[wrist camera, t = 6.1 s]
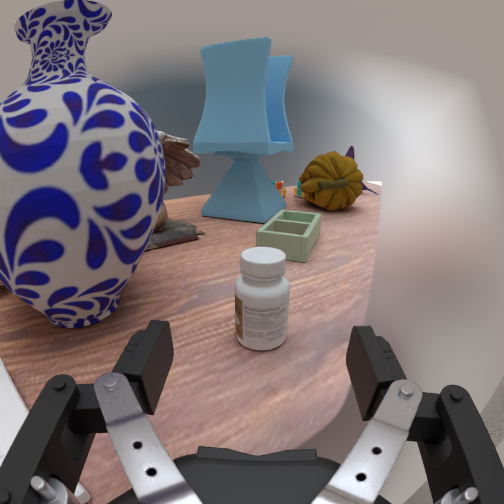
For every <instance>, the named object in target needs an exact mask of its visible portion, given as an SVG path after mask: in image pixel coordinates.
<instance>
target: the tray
mask: <svg viewBox="0 0 504 504" xmlns="http://www.w3.org/2000/svg"><path fill="white" fill-rule="evenodd" d="M320 226H321V214H319V213H309V212H300V211H291V210H280V211H279V212H278V213H277V214H276V215H275V216H274V217H272V218H271V219H270V220H269V221H268V222H267V223H265V224H264V225H263V226H262V227H261V228H260V229H258V230H257V231H256V247H271V248H276V249H279V250H281V251H283V252H284V253H285V255H286V260H291V261H298V262H306V261H307V259H308V257H309V255H310V253H311V251H312V249H313V247H314V245H315V243H316V241H317V239H318V236H319V234H320Z"/></svg>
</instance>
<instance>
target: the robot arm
mask: <svg viewBox="0 0 504 504" xmlns="http://www.w3.org/2000/svg"><path fill="white" fill-rule="evenodd" d="M173 356H174V349H173V343H172V337H171V330H170V324H169V322H168V321H159V320H151V321H150V323H149V325H148V327H147V328H146V330H139V331H138V332H137V333H135V334H134V335H133V336H132V337H131V339H130V340H129V342H128V345H127V346H126V347H125V349H124V351H123V353H122V354H121V356H120V358H119V360H118V361H117V363H116V365H115V367H114V369H113V370H112V372H110V373H106V374H103V375H101V376H100V377H99V378H98V379H97V380H96V381H95V383H94V384H76V382H75V380H74V379H73V378H72V377H71V376H69V375H64V374H63V375H57V376H54V377H52V378H51V379H50V380H49V381H48V382H47V383H46V385H45V387H44V388H43V390H42V391H41V393H40V395H39V396H38V398H37V400H36V401H35V403H34V405H33V407H32V408H31V410H30V412H29V414H28V415H27V417H26V419H25V421H24V422H23V424H22V426H21V428H20V430H19V431H18V433H17V435H16V437H15V439H14V441H13V443H12V445H11V446H10V448H9V450H8V452H7V454H6V456H5V458H4V460H3V462H2V464H1V466H0V504H80V502H79V500H78V499H77V497H76V496H75V495H74V493H75V490H76V487H77V484H78V481H79V478H80V475H81V473H82V470H83V467H84V464H85V461H86V458H87V456H88V453H89V450H90V448H91V445H92V442H93V440H94V437H95V434H96V433H108V434H109V436H110V439H111V441H112V444H113V446H114V448H115V451H116V453H117V456H118V458H119V460H120V462H121V465H122V467H123V469H124V471H125V473H126V476H127V478H128V480H129V482H130V484H131V486H132V488H131V489H130V490H128V491H126V492H125V493H123V494H122V495H120V496H119V497H117V498H115V499H114V500H112V501H111V502H109V503H107V504H391V503H390V502H389V501H387V500H386V499H384V498H383V497H382V496H381V495H379V493H380V491H381V489H382V487H383V486H384V484H385V482H386V480H387V478H388V476H389V474H390V473H391V471H392V469H393V467H394V465H395V463H396V461H397V459H398V457H399V455H400V452H401V450H402V448H403V446H404V444H405V442H406V441H416V442H417V444H418V447H419V450H420V453H421V457H422V460H423V464H424V467H425V471H426V475H427V479H428V483H429V487H430V491H431V495H432V499H433V503H434V504H504V468H503V465H502V463H501V461H500V458H499V456H498V453H497V451H496V449H495V446H494V444H493V442H492V440H491V437H490V435H489V433H488V431H487V429H486V427H485V425H484V423H483V420H482V418H481V416H480V414H479V413H478V410H477V408H476V406H475V405H474V403H473V401H472V399H471V397H470V395H469V393H468V392H467V391H466V390H465V389H464V388H462V387H460V386H458V385H448V386H446V387H444V388H443V389H442V391H441V393H440V394H435V393H426V392H422V390H421V388H420V387H419V386H418V385H417V384H416V383H415V382H413V381H410V380H407V378H406V376H405V374H404V372H403V370H402V368H401V366H400V364H399V362H398V360H397V359H396V356H395V354H394V352H393V350H392V348H391V346H390V344H389V343H388V342H387V341H386V340H385V339H384V338H383V337H381V336H375V333H374V331H373V329H372V328H371V326H354V327H353V329H352V332H351V337H350V341H349V345H348V350H347V354H346V365H347V369H348V372H349V375H350V379H351V382H352V386H353V389H354V392H355V396H356V399H357V403H358V406H359V409H360V413H361V417H362V420H363V421H368V420H370V421H369V423H368V424H367V426H366V428H365V429H364V431H363V433H362V434H361V436H360V437H359V439H358V440H357V442H356V444H355V445H354V447H353V448H352V450H351V451H350V453H349V454H348V456H347V457H346V459H345V460H344V462H343V463H342V465H340V464H339V463H337V462H335V461H332V460H330V459H327V458H322V457H317V453H316V449H303V450H285V451H281V452H276V453H271V454H266V455H261V456H254V455H250V454H246V453H242V452H238V451H234V450H231V449H227V448H214V447H204V446H199V447H198V452H197V454H190V455H186V456H182V457H179V458H177V459H174V460H172V459H171V457H170V456H169V454H168V452H167V451H166V449H165V447H164V446H163V444H162V442H161V440H160V439H159V437H158V435H157V433H156V432H155V430H154V428H153V426H152V424H151V423H150V421H149V419H148V417H147V415H146V414H148V415H154V413H155V410H156V407H157V404H158V401H159V398H160V395H161V392H162V390H163V387H164V384H165V381H166V378H167V376H168V373H169V370H170V367H171V364H172V362H173Z"/></svg>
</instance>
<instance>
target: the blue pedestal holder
mask: <svg viewBox="0 0 504 504" xmlns="http://www.w3.org/2000/svg"><path fill="white" fill-rule="evenodd" d="M270 47H271V39H269V38H268V37H264V38H255V39H246V40H239V41H232V42H225V43H219V44H214V45H209V46H205V47H202V48H201V50H200V52H201V57H202V61H203V66H204V71H205V78H206V100H205V107H204V111H203V115H202V119H201V122H200V125H199V128H198V131H197V134H196V136H195V139H194V142H193V153H211V152H215V155H219V156H224V157H230V158H234V163H233V164H232V166H231V167H230V168H229V170H228V171H227V173H226V174H225V176H224V177H223V179H222V180H221V182H220V183H219V184H218V186H217V188H216V189H215V191H214V192H213V193H212V195H211V196H210V198H209V199H208V201H207V202H206V204H205V205H204V207H203V209H202V216H211V217H219V218H227V219H235V220H243V221H251V222H259V223H265V222H266V221H268V220H269V219H270V218H272V217H273V216H275V215H276V214H277V213H278V212H279V211H280V210H284V209H285V208H286V202H285V200H284V199H283V197H282V196H281V194H280V193H279V191H278V190H277V188H276V187H275V185H274V184H273V183H272V181H271V180H270V178H269V177H268V175H267V174H266V172H265V171H264V169H263V168H262V167H261V165H260V164H259V162H258V158H259V157H263V156H267V155H271V154H275V153H276V152H278V151H285V152H291V151H293V140H292V136H291V133H290V130H289V127H288V123H287V119H286V114H285V106H284V93H285V86H286V81H287V77H288V73H289V70H290V67H291V64H292V61H293V57H292V56H275V57H269V53H270Z"/></svg>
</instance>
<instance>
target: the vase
mask: <svg viewBox="0 0 504 504" xmlns="http://www.w3.org/2000/svg"><path fill="white" fill-rule="evenodd" d="M111 17H112V13H111V11H110V9H109V8H108V7H106V6H104V5H102V4H100V3H97V2H92V1H87V0H64V1H57V2H52V3H48V4H44V5H41V6H39V7H36V8H34V9H32V10H30V11H28V12H26V13H25V14H24V15H22V16H21V17H20V18H19V19H18V20H17V21H16V23H15V26H14V29H15V32H16V35H17V37H18V39H19V40H20V41H22V42H24V43H27V44H30V46H31V51H32V63H31V68H30V71H29V74H28V77H27V79H26V81H25V83H24V84H23V85H22V86H21V87H20V88H18V89H17V90H16V91H14V92H13V93H12V94H11V95H9V96H8V97H7V98H6V99H5V100H4V101H3V102H1V103H0V282H1V283H2V284H3V285H4V286H6V287H7V288H8V289H9V290H10V291H11V292H12V293H14V294H15V295H16V296H18V297H19V298H20V299H21V300H23V301H24V302H26V303H27V304H29V305H30V306H31V307H33V308H35V309H36V310H38V311H39V312H41V313H42V314H44V315H46V316H47V318H48V320H49V321H50V322H51V323H52V324H54V325H56V326H60V327H65V328H77V327H83V326H87V325H91V324H94V323H96V322H99V321H101V320H103V319H104V318H106V317H107V316H109V315H110V314H111V313H112V312H114V311H115V309H116V308H117V306H118V304H119V301H120V299H119V296H120V295H121V293H122V291H123V290H124V288H125V286H126V284H127V283H128V281H129V279H130V277H131V276H132V274H133V272H134V270H135V269H136V267H137V265H138V263H139V261H140V259H141V257H142V255H143V253H144V251H145V249H146V246H147V244H148V242H149V240H150V238H151V235H152V232H153V229H154V227H155V224H156V221H157V219H158V216H159V213H160V209H161V205H162V200H163V196H164V192H165V177H166V166H165V160H164V154H163V149H162V145H161V142H160V138H159V134H158V132H157V130H156V128H155V126H154V124H153V122H152V120H151V118H150V117H149V116H148V114H147V113H146V112H145V111H144V110H143V108H142V107H141V106H140V105H139V104H138V103H136V102H135V101H134V100H133V99H132V98H131V97H129V96H128V95H126V94H125V93H123V92H122V91H120V90H119V89H117V88H115V87H113V86H112V85H110V84H108V83H106V82H104V81H102V80H100V79H98V78H96V77H93V76H92V75H90V74H89V72H88V71H87V68H86V64H85V49H86V45H87V43H88V40H89V39H90V37H91V36H94V35H96V34H98V33H99V32H101V31H102V30H103V29H104V28H105V27H106V25H107V24H108V23H109V21H110V20H111Z"/></svg>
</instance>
